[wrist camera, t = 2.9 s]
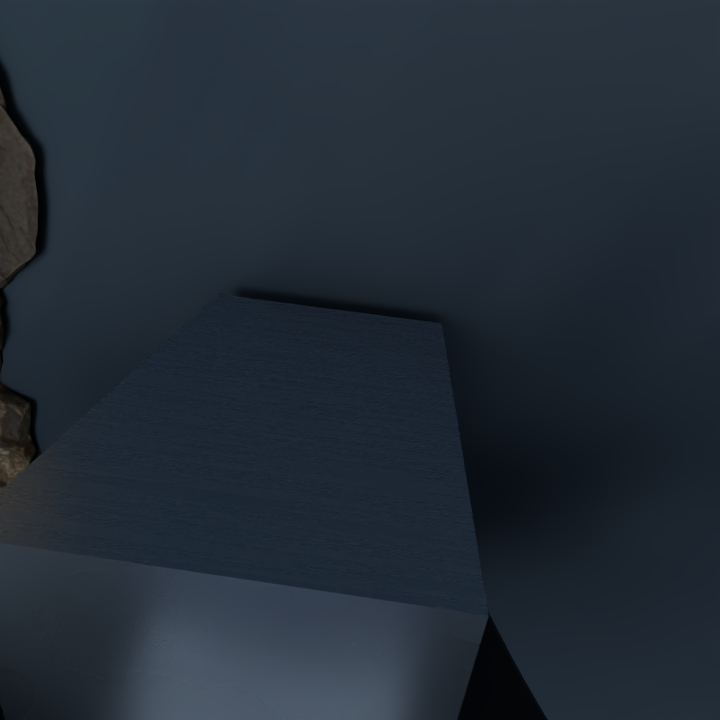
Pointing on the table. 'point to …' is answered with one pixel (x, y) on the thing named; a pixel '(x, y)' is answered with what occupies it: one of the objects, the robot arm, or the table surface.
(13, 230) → the wooden fragment
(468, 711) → the robot arm
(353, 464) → the steel block
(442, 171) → the table surface
